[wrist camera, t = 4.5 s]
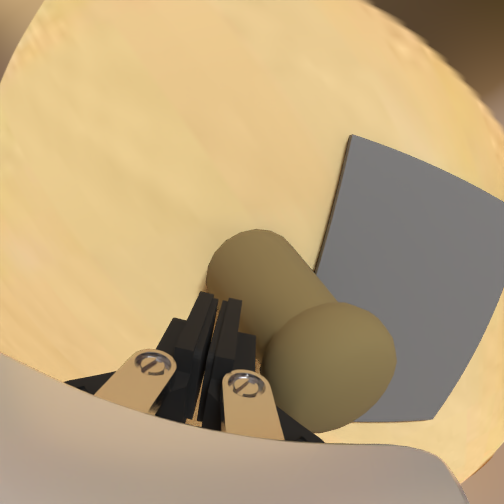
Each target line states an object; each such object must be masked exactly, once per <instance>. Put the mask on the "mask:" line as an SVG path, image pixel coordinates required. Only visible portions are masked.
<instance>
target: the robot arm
mask: <svg viewBox="0 0 504 504" xmlns="http://www.w3.org/2000/svg"><path fill="white" fill-rule="evenodd" d="M218 300H219V299H216V298H214V294H210V293H205V292H200V293H199V296H198V298H197V300H196V302H195V304H194V306H193V308H192V310H191V313H190V315H189V317H188V319H187V321H186V320H182V319H178V318H173V319H172V321H171V323H170V324H169V326H168V328H167V330H166V332H165V333H164V335H163V337H162V339H161V341H160V343H159V344H158V346H157V348H156V349H144V350H140V351H137V352H135V353H134V354H133V355H132V356H131V357H130V358H129V359H128V360H127V361H126V362H125V363H124V364H123V365H122V366H121V367H120V368H119V369H118V370H117V371H115V372H110V373H105V374H101V375H96V376H91V377H85V378H80V379H75V380H69V381H66V382H61V381H59V380H57V379H55V378H53V377H51V376H49V375H46V374H44V373H42V372H40V371H38V370H36V369H34V368H32V367H30V366H28V365H26V364H24V363H22V362H20V361H18V360H16V359H14V358H12V357H10V356H8V355H6V354H3V353H1V352H0V504H469V502H468V500H467V497H466V495H465V494H464V491H463V489H462V487H461V485H460V484H459V482H458V480H457V478H456V477H455V475H454V474H453V472H452V471H451V469H450V468H449V466H448V465H447V464H446V463H445V462H444V461H443V460H442V459H441V458H439V457H438V456H437V455H435V454H432V453H430V452H427V451H424V450H421V449H416V448H412V447H407V446H399V445H389V444H345V443H325V442H324V441H322V440H321V439H320V438H319V437H318V436H316V435H315V434H313V433H312V432H311V431H309V430H308V429H307V428H305V427H304V426H302V425H301V424H300V423H298V422H297V421H296V420H294V419H293V418H292V417H290V416H289V415H288V414H287V413H285V412H284V411H283V410H281V409H280V408H279V407H278V406H276V405H275V402H274V398H273V394H272V390H271V386H270V384H269V382H268V381H267V380H266V379H265V378H264V377H263V376H261V375H260V374H258V373H256V372H255V357H256V335H252V334H247V333H241V332H238V329H239V322H240V314H241V307H242V300H238V299H233V298H229V299H228V301H225V300H223V301H222V305H221V308H220V312H219V315H218V319H217V323H216V326H215V330H214V333H213V328H214V322H215V317H216V311H217V306H218ZM212 334H213V337H212ZM211 339H212V341H211ZM204 372H205V373H204ZM203 376H204V379H203ZM202 380H203V385H202V391H201V398H200V404H199V410H198V417H197V421H201V422H202V427H197V426H193V425H189V424H185V422H186V418H188V419H192V418H193V414H194V411H195V407H196V403H197V399H198V395H199V391H200V387H201V384H202Z"/></svg>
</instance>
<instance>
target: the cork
mask: <svg viewBox="0 0 504 504" xmlns="http://www.w3.org/2000/svg"><path fill="white" fill-rule="evenodd" d="M206 284H207V288H208V293H210V294H214V298H216V299H219V300H218V306H217V308H218V309H219V311H220V308H221V305H222V301H223V300H225V301H228V299H229V298H233V299H238V300H242V307H241V314H240V322H239V329H238V332H241V333H247V334H252V335H256V358H257V360H258V361H259V362H260V363H261V367H260V375H261V376H263V377H264V378H265V379H266V380H267V381H268V382H269V384H270V386H271V390H272V394H273V398H274V402H275V405H276V406H278V407H279V408H280V409H281V410H283V411H284V412H285V413H287V414H288V415H289V416H290V417H292V418H293V419H294V420H296V421H297V422H298V423H300V424H301V425H302V426H304V427H305V428H307V429H308V430H309V431H311V432H312V433H323V432H327V431H331V430H334V429H338V428H341V427H343V426H345V425H347V424H349V423H351V422H353V421H355V420H356V419H358V418H359V417H361V416H362V415H363V414H365V413H366V412H367V411H368V410H369V409H370V408H371V407H373V406H374V405H375V404H376V403H377V401H378V400H379V399H380V398H381V396H382V395H383V394H384V392H385V391H386V389H387V387H388V385H389V383H390V381H391V379H392V377H393V375H394V372H395V368H396V363H397V358H396V351H395V346H394V341H393V338H392V336H391V335H390V333H389V332H388V330H387V329H386V327H385V326H384V325H383V323H382V322H381V321H380V320H379V318H377V317H376V316H375V315H373V314H372V313H370V312H369V311H367V310H364V309H362V308H359V307H357V306H354V305H351V304H348V303H345V302H338V301H337V300H336V299H335V297H334V296H333V295H332V294H331V293H330V291H329V290H328V289H327V288H326V286H325V285H324V284H323V283H322V282H321V280H320V279H319V278H318V277H317V276H316V274H315V273H314V272H313V271H312V270H311V268H310V267H309V266H308V265H307V263H306V262H305V261H304V260H303V259H302V258H301V256H300V255H299V254H298V253H297V252H296V250H295V249H294V248H293V247H292V246H291V245H290V244H289V243H288V242H287V241H286V239H285V238H284V237H282V236H280V235H278V234H276V233H274V232H272V231H268V230H258V229H254V230H250V231H245V232H240V233H239V234H237V235H235V236H233V237H231V238H230V239H228V240H226V241H225V242H224V243H223V244H222V245H221V246H220V247H219V249H218V250H217V251H216V252H215V253H214V255H213V257H212V259H211V261H210V263H209V265H208V270H207V278H206Z"/></svg>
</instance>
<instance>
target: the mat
mask: <svg viewBox="0 0 504 504" xmlns="http://www.w3.org/2000/svg"><path fill="white" fill-rule="evenodd" d="M314 273H315V274H316V276H317V277H318V278H319V279H320V280H321V282H322V283H323V284H324V285H325V286H326V288H327V289H328V290H329V291H330V293H331V294H332V295H333V296H334V297H335V299H336V300H337V301H338V302H345V303H348V304H351V305H354V306H357V307H359V308H362V309H364V310H367V311H369V312H370V313H372V314H373V315H375V316H376V317H377V318H379V320H380V321H381V322H382V323H383V325H384V326H385V327H386V329H387V330H388V332H389V333H390V335H391V336H392V338H393V341H394V346H395V351H396V358H397V363H396V368H395V372H394V375H393V377H392V379H391V381H390V383H389V385H388V387H387V389H386V391H385V392H384V394H383V395H382V396H381V398H380V399H379V400H378V401H377V403H376V404H375V405H374V406H373V407H371V408H370V409H369V410H368V411H367V412H366V413H365V414H363V415H362V416H361V417H359V418H358V419H356V420H355V421H353V422H397V421H417V420H431V419H433V418H434V417H435V415H436V414H437V412H438V411H439V410H440V408H441V407H442V405H443V404H444V402H445V401H446V399H447V398H448V396H449V395H450V393H451V392H452V390H453V388H454V387H455V385H456V384H457V382H458V380H459V379H460V377H461V375H462V374H463V372H464V370H465V369H466V367H467V365H468V363H469V361H470V360H471V358H472V356H473V354H474V352H475V350H476V348H477V346H478V345H479V343H480V341H481V339H482V337H483V334H484V332H485V330H486V328H487V326H488V324H489V322H490V319H491V317H492V315H493V313H494V310H495V308H496V306H497V303H498V301H499V298H500V296H501V293H502V290H503V288H504V202H503V201H501V200H499V199H498V198H496V197H494V196H492V195H491V194H489V193H487V192H485V191H483V190H482V189H480V188H478V187H476V186H474V185H472V184H470V183H468V182H466V181H464V180H462V179H460V178H458V177H456V176H454V175H452V174H450V173H448V172H446V171H444V170H442V169H440V168H437V167H435V166H433V165H431V164H428V163H426V162H424V161H422V160H419V159H417V158H415V157H412V156H410V155H407V154H405V153H402V152H400V151H397V150H395V149H392V148H389V147H387V146H384V145H381V144H379V143H376V142H373V141H370V140H367V139H365V138H362V137H359V136H356V135H353V134H352V135H350V136H349V141H348V146H347V150H346V154H345V159H344V163H343V168H342V172H341V176H340V180H339V184H338V188H337V192H336V196H335V200H334V204H333V208H332V212H331V216H330V219H329V223H328V227H327V230H326V234H325V238H324V241H323V245H322V248H321V252H320V255H319V259H318V262H317V266H316V269H315V272H314Z"/></svg>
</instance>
